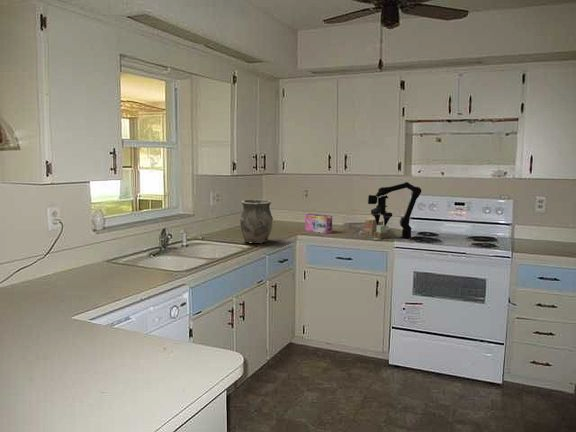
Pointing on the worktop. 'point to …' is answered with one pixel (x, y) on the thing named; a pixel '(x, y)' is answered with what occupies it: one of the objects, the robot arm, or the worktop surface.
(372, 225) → the stack of blocks
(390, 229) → the grey cube
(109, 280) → the worktop surface
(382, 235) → the walnut base block
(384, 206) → the robot arm
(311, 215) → the gum box
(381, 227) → the sage cube
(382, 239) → the slate card
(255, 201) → the clay pot
